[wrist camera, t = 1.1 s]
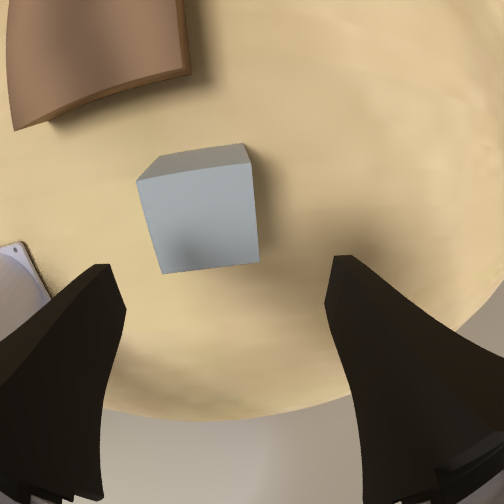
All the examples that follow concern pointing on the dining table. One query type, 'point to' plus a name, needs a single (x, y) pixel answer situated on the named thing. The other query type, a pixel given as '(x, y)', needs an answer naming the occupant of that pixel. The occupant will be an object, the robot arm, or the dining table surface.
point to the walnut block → (88, 52)
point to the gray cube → (201, 208)
